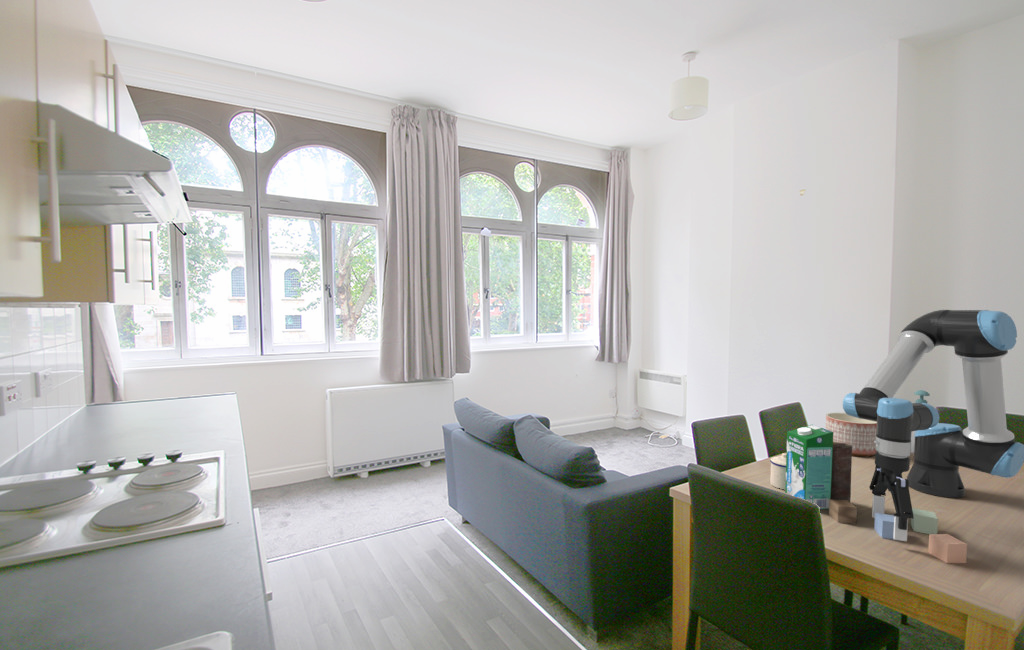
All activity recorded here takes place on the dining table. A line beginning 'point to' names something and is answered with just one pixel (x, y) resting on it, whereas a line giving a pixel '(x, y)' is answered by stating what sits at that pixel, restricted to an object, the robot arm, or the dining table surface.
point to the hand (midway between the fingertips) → (888, 528)
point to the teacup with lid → (778, 471)
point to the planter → (853, 432)
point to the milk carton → (809, 464)
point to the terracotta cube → (947, 548)
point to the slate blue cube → (884, 525)
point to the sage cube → (924, 521)
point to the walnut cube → (842, 511)
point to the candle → (841, 471)
